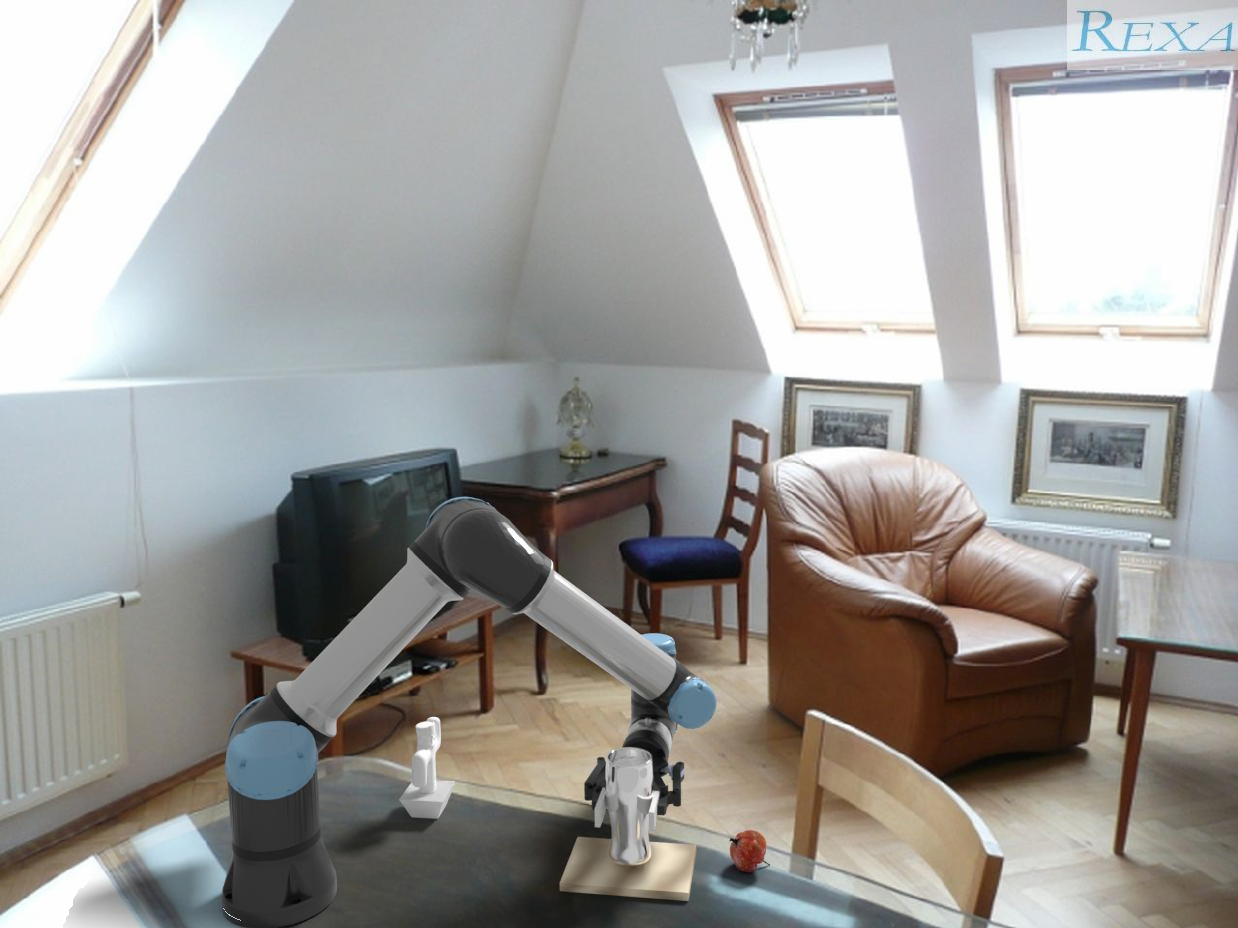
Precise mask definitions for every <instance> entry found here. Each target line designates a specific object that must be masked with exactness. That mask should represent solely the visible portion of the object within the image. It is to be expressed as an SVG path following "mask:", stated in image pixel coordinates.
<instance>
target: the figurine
mask: <svg viewBox="0 0 1238 928" xmlns="http://www.w3.org/2000/svg"><path fill="white" fill-rule="evenodd" d="M415 731H416V737H417V740H416V741H417V749H416V752H415V753H414V754H413V756H412V758H411V763H410V765H411V782H410V784H409V785H408V787H407V788H406V789H405V791H404V792H403V793H402V795H400V798H399V799H398V800H399V802H400V803H401V805H402V806H403V808H405V810H406V812H407V813H408V814H409V816H410V817H411V818H417V819H418V818H419V819H435V820H437V819H439V818H440V816H441V815H442V813H443V811H444V809H445V808H446V806H447V804H448V801H449V800H450V797H451V795H452V793H453V791H454V787H455V785H456V781H455V780H453V781H452V780H437V770H436V769H437V768H436V767H437V766H436V755H437V752H438V750H439V749H440V747H441V741H442V733H441V732H442V731H441V720H440V718H439V717H436V716H431V717H428V718H427V719H426V721H421V722H419V723H417V724H416V725H415Z"/></svg>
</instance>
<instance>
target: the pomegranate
mask: <svg viewBox="0 0 1238 928" xmlns="http://www.w3.org/2000/svg"><path fill="white" fill-rule="evenodd" d="M728 841H729V843H730V842H731V843H730V847H729V855H730V858H731V860H732V862H733V863H734V865H735V867H736V868H737V869H739V870H740V871H741V872H744V873H752V872H754V871H755V872H756V870H757V867H758V865H760V864H762V863H764V864H766V865H768V866H770V865H771V864H770V863H769V862H767V861H766V860H765V855H766V852H767V841H766V838H765V837H764V835H763V834H762V833H760V832H758V831H756V830H752V829H750V830H749V829H748V830H744V831H741V832H739V833H737V834H736V835H735V838H732V837H730V838H729V840H728Z"/></svg>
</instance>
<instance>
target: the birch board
mask: <svg viewBox="0 0 1238 928" xmlns="http://www.w3.org/2000/svg"><path fill="white" fill-rule="evenodd" d="M649 843H650V848H651V858H650V859H649V860H648V861H647V862H645V863H643V864H641V865H636V866H624V865H620V864H617V863H615V862H613V861H612V860H611V859H610V856H609V850H610V844H611V838H599V837H587V836H586V837H585V836H577V838H576V840H575V843H574V845H573V847H572V851H571V853H570V855H569V858H568V861H567V863H566V866H565V868H564V871H563V874H562V876H561V879H560V881H559V891H560V892H567V893H580V894H592V895H607V896H619V897H629V898H645V899H657V900H670V901H672V900H673V901H683V902H689V900H690V896H691V895H690V894H691V889H692V888H691V887H692V882H693V875H694V869H695V862H696V856H697V844H687V843H674V842H658V841H649Z"/></svg>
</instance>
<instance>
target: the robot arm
mask: <svg viewBox="0 0 1238 928" xmlns="http://www.w3.org/2000/svg"><path fill="white" fill-rule="evenodd" d="M424 529H425V530H423V531H422V533H421V534H420V535H419V536H418V537H417V538H416V539H415V540H414V541H413V542H412V544H410V546H408V547H407V554H406V555H407V559H406V560H407V561H406V564H405V565H403V567H402V568H401V569H400V570H399V571H398V572H397V573H396V575H394V576H393V577H392V579H390V581H388V583H386V585H384V586H383V588H382V589H381V590H380V591H379V592H378V593H377V594H376V595H375V596H374V597H373V598H372V600H370V601H369V602H368V603H367V605H366V606H364V607H363V609H362V610H361V611H360V612H359V613H357V615H356V616H355V617H354V618H353V619H352V620H351V621H350V622H349V623H348V624H347V625H346V626H345V627H344V628H343V629H342V631H340V633H339V634H338V635H337V636H336V637H335V638H334V639H333V640H331V642H330V643H329V644H328V645H327V646H326V647H325V648H324V649H323V650H322V651H321V652H320V653H319V654H318V656H316V657H315V658H314V660H313V661H312V662H311V663H309V664H308V666H307V667H306V668H304V670H303V671H302V672H301V673H300V674H299V676H298V677H297V678H296V679H294V680H284V681H279V682H277V684H276V685H275V686H274V687H272V689H271V690H270V691H268V693H267V694H266V695H264V696H261V697H260V696H259V697H258V698H256V699H254V700H252V701H251V702H249V703H248V704H247V705H245V706H244V707H243V708H242V709H241V710H240V712H239V713H238V714H237V715H236V716H235V718H234V721H233V723H232V724H231V727H230V730H229V733H228V737H227V739H228V740H227V749H226V752H225V753H226V757H225V762H224V772H225V777H226V780H227V781H226V782H227V791H228V792H227V795H228V807H229V820H230V821H229V822H230V834H231V836H230V837H231V846H232V847H231V853H232V854H231V856H230V862H229V864H228V869H227V872H226V875H225V879H224V882H223V886H222V890H221V906H222V905H223V906H222V913H223V916H224V918H225V919H227V920H228V921H229V922H230V923H231V924H234V925H236V926H240V927H242V928H283V927H286V926H291V925H295V924H298V923H301V922H303V921H305V920H308V919H310V918H312V917H314V916H316V915H317V914H319V913H320V912H322V911H324V910H325V909H326V908H327V907H328V906H329V905H330V904H331V903H332V902H333V901H334V899H335V898H336V895H337V893H338V884H337V883H338V881H337V880H338V879H337V872H336V868H335V866H334V863H333V862H332V860H331V858H330V855H329V852H328V850H327V848H326V845H325V843H324V841H323V838H322V832H321V831H322V829H321V813H320V812H321V811H320V809H321V808H320V793H319V775H318V774H319V773H318V762H319V753H320V752H321V751H322V750H323V749H324V748H325V747H326V746H327V745H328V744H329V742H331V740H332V739H334V737H336V735H337V721H338V718H339V717H341V715H342V714H343V713H344V712H345V711H346V710H347V709H348V708H349V707H350V705H352V704H353V702H355V700H356V699H357V698H358V697H359V696H360V695H361V694H362V693H363V692H364V691H365V690H366V689H367V688H368V686H369V685H370V684H371V683H372V682H374V680H375V679H376V678H377V677H378V676H379V675H380V674H381V673H382V672H383V671H384V670H385V668H387V666H388V665H389V664H391V663H392V662H393V661H394V659H395V658H396V657H397V656H398V655H399V654H400V653H401V652H402V650H404V649H405V647H407V645H408V644H409V643H410V642H411V641H412V640H413V639H414V638H415V637H416V636H417V635H418V634H419V633H420V632H421V630H423V628H424V627H426V625H427V624H429V622H430V621H431V620H432V619H433V617H435V616H436V615H437V614H438V612H440V610H442V608H443V607H444V606H445V605H446V604H448V602H452V601H454V602H455V601H463V600H464V599H465V598H466V597H467V596H469V594H470V593H471V592H472V591H473V592H476V593H477V594H480V595H481V596H484V597H485V598H487V599H489V600H490V601H492V602H494V604H497V605H499V606H500V607H502V608H504V609H505V610H506V611H508V612H509V613H510V614H512V615H519V614H525V615H526V616H528V617H529V618H530V619H531V620H533V621H534V622H536V623H537V624H539V625H540V626H542V627H543V628H544V629H546V630H547V631H548V632H550V633H552V635H554V636H556V637H558V639H560V640H562V641H563V642H564V643H566V644H567V645H569V646H570V647H571V648H573V649H574V650H576V651H577V652H578V653H580V654H581V655H582V656H584V657H586V658H587V659H588V660H590V661H591V662H592V663H594V664H596V665H597V666H598V667H599V668H601V669H602V670H604V671H605V672H607V673H609V674H610V675H611V676H612V677H614V678H615V679H616V680H618V681H620V682H621V683H623V684H624V685H625V686H627V688H630V717H631V718H630V725H629V728H628V730H627V733H626V737H625V739H624V741H623V743H622V746H621V748H624V747H635V748H641V749H644V750H647V751H648V752H650V753H651V755H652V764H653V775H654V795H653V798H652V802H651V806H650V810H649V829H648V832H649V831H651V832H655V829H656V825H657V822H658V818H659V816H665V815H666V814H667V810H668V807H669V805H672V806H673V807H677V808H678V807H680V806H682V782H683V781H684V780H685V762H683V761H677V762H676V763H675V764H669V758H670V754H671V749H672V745H673V741H674V737H675V734H676V731H677V730H678V725H679V726H680V727H681V728H684V729H687V730H697V729H699V728H702V727H704V726H705V725H706V724H708V723H709V722H710V720H711V719H713V716H714V715H715V712H716V710H717V706H718V705H717V696H716V693H715V692H714V690H713V689H712V687H711V686H710V685H709V684H708V682H706V681H704V680H703V679H702V678H700V677H699V676H698V675H696V674H695V673H693V672H692V671H691V670H690V669H688V667H686V666H685V665H683V664H682V663H681V662H680V661H678V660H677V659H676V657H677V649H676V643H675V640H674V638H673V637H672V636H670V635H667V634H663V633H658V632H655V633H651V632H650V633H644V634H640V633H639V632H638V631H636V630H635V629H634V628H632V627H631V626H630V625H629V624H627V623H626V622H624V621H623V620H621V619H620V618H619V617H618V616H617V615H615V614H613V613H612V612H611V611H610V610H608V609H606V608H605V607H604V606H602V605H601V604H600V603H599V602H597V601H596V600H594V599H593V598H592V597H590V596H589V595H588V594H587V593H585V592H584V591H583V590H581V589H580V588H578V587H577V586H575V584H573V583H571V582H570V581H569V580H567V578H565V577H563V576H562V575H560V574H559V573H558V572H557V571H556V570H555V569H554V562H553V560H552V559H551V558H550V557H548V556H546V554H544V553H543V552H541V551H540V550H539V549H538V548H537V547H536V546H535V545H534V544H532V543H531V542H530V541H529V540H528V539H527V538H526V536H524V534H522V532H520V530H519V529H518V528H517V527H516V525H514V524H513V523H512V522H511V520H510V519H509V518H507V517H506V516H505V515H503V514H502V513H500V511H498V510H497V508H495V507H494V506H492V505H491V504H490V503H489V502H487V501H484V500H483V499H479V498H474V497H469V496H459V497H454V498H450V499H448V500H445V501H444V502H442V503H441V504H439V505H438V506H437V507H436V508H435V509H434V510H433V511H432V513H431V514H430V515H429V518H428V520H427V522H426V525H425V528H424ZM605 770H606V757H604V756H599V757H597V758H596V765H595V767H594V768H593V770H592V771H591V773H590V774H589V776H588V777H587V778H586V780H585V782H584V783H583V784H584V785H583V786H584V787H583V788H584V792H583V794H584V795H583V796H584V800H585V801H587V802H589V801H590V802H591V811H593V812H594V828H601V826H602V823H603V821H604V818H605V815H606V813H607V811H608V807H607V801H606V794H605ZM666 775H668V776H669V777H670V780H671V781H672V790H669V784H666V782H665V781H664V779H663V778H662V777H665V776H666ZM223 908H224V909H225V910H224V909H223ZM225 911H226V912H227V913H228V914H230V915H231V916H233V917H235V918H237V919H240V920H241V921H240V920H237V919H235V918H233V917H231V916H229V915H228V914H227V913H226V912H225Z"/></svg>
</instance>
